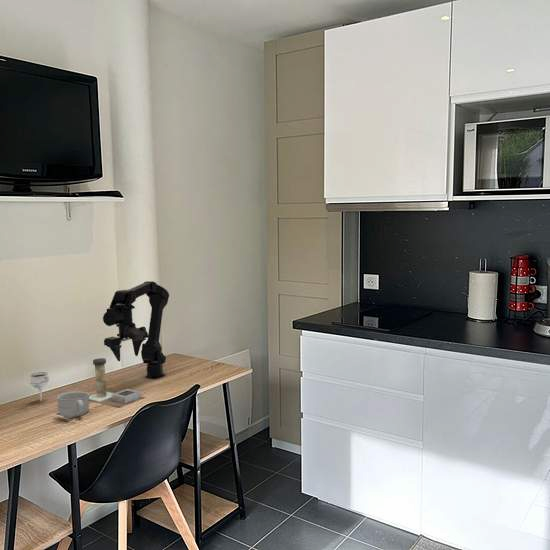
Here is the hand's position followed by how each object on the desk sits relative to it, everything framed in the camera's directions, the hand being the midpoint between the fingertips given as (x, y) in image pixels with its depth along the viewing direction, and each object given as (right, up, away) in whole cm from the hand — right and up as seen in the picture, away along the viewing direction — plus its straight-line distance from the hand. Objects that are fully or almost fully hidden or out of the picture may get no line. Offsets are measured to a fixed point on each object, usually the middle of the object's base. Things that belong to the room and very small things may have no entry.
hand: (127, 358), depth 226 cm
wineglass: (-30, -16, -14) cm, 36 cm away
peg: (-7, -13, -12) cm, 19 cm away
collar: (+4, -13, -15) cm, 21 cm away
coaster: (-7, -13, -12) cm, 19 cm away
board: (-2, -15, -13) cm, 20 cm away
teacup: (-11, -17, -29) cm, 36 cm away
